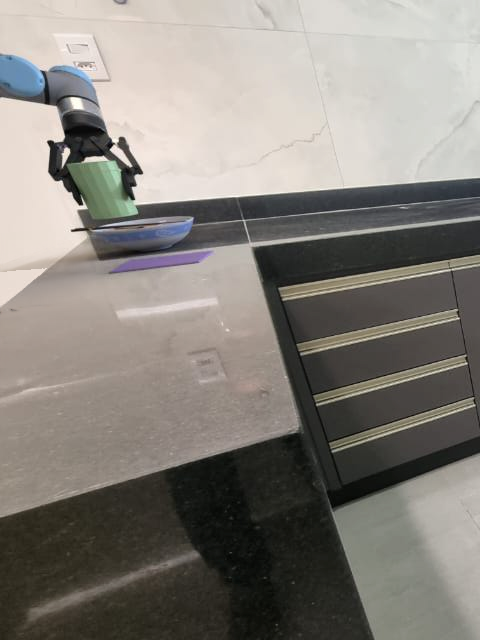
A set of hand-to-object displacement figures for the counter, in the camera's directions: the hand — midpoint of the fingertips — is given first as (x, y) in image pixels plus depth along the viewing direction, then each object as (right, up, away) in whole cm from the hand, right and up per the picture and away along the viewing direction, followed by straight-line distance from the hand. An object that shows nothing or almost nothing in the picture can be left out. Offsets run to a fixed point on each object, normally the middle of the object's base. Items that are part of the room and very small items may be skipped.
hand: (105, 199), depth 121 cm
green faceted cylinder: (-2, -3, +4) cm, 5 cm away
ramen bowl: (-18, -5, +32) cm, 37 cm away
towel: (0, -12, +15) cm, 19 cm away
